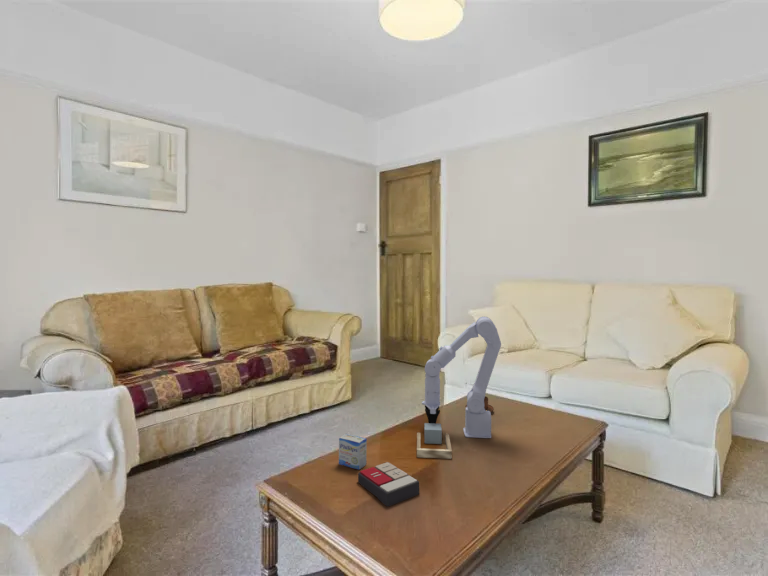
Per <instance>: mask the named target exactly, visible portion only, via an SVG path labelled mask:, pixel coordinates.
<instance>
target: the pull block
mask: <svg viewBox="0 0 768 576" xmlns="http://www.w3.org/2000/svg"><path fill="white" fill-rule="evenodd" d="M423 426H424V430H423V431H424V434H423V435H424V437H423V438H424V444H430V445H432V444H434V445H435V444H437V445H442V442H443V441H442V439H443V437H442V436H443V435H442V434H443V432H442V431H443V430H442V429H443V428H442V424H441V423H436V424H435V423H428V422H424V425H423Z"/></svg>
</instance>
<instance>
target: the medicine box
mask: <svg viewBox="0 0 768 576" xmlns="http://www.w3.org/2000/svg"><path fill="white" fill-rule="evenodd" d="M367 441H368V440H367V438H365V437H361V436H357V435H353V434H349V433H345V434H343V435H342V436H340V437H339V438H338V465H340V466H343V465H344V466H343V467H347V468H351V469H354V470H358V471H359V470H360V471H361V470H362V468H364V467H365V466H366V465H367V449H368V448H367Z"/></svg>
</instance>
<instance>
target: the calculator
mask: <svg viewBox="0 0 768 576" xmlns="http://www.w3.org/2000/svg"><path fill="white" fill-rule="evenodd" d="M357 481H358V482H357V483H359V484H360V485H361V486H362V487H363V488H364V489H365V490H367V491H368V492H369V493H371V494H373V496H374V497H377V499H378V500H379V501H380V503H382V504H383V505H384V506H386V507H391V506H393V505H396V504H398V503H401V502H403V501H405V500H408V499H412V498H413V497H415V496H419V495H420V481H419V480H418V479H416V478H414V477H412V476H411V475H410V474H408V473H407V472H405V471H404V470H402V469H400V468H398V467H397V466H395V464H392V463H391V462H388V461H386V462H384V463H380V464H377V465H375V466H372V467H369V468H366V469H361V470H360V471H359V472H357Z"/></svg>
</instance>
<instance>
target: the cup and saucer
mask: <svg viewBox="0 0 768 576" xmlns="http://www.w3.org/2000/svg"><path fill="white" fill-rule="evenodd" d="M466 407H467V404H465V408H466ZM484 408H485V410H487V411H490V413H491V414H492V412H493V411H494V410H495V407H493V406H492V405H490V404H489V397H488V396H486V395H485V398H484Z"/></svg>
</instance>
